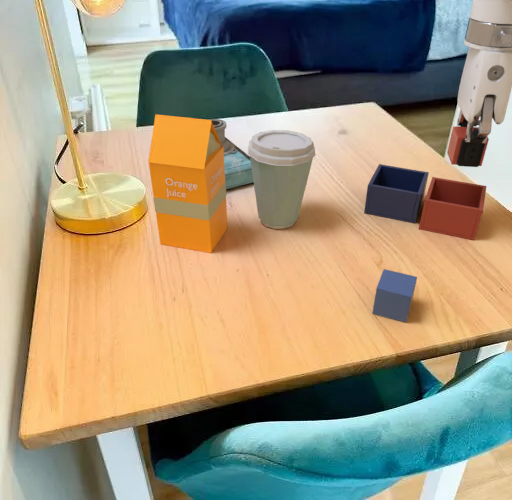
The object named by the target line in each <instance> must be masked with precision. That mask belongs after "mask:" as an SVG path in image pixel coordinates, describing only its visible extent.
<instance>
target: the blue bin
mask: <svg viewBox="0 0 512 500" xmlns="http://www.w3.org/2000/svg"><path fill="white" fill-rule="evenodd" d="M428 178H429V171H423V170H418V169H411V168H405V167H399V166H393V165H387V164H382V163H380V164H378V165H377V167H376V168H375V171H374V173H373V174H372V176H371V178H370V180H369V182H368V184H367V189H366V195H365V205H364V212H363V214H366V215H372V216H377V217H381V218H385V219H386V218H387V219H391V220H395V221H401V222H406V223H411V224H416V223H417V219H418V216H419V214H420V211H421V209H422V208H421V207H422V205H423V203H424V199H425V193H426V188H427V184H428Z"/></svg>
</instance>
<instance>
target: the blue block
mask: <svg viewBox="0 0 512 500" xmlns="http://www.w3.org/2000/svg"><path fill="white" fill-rule="evenodd" d="M417 280H418V277H417V276H415V275H411V274H406V273H403V272H399V271H395V270H389V269H386V268H384V269H383V270H382V273H381V275H380V278H379V279H378V283H377V285H376V289H375V295H374V299H373V300H374V301H373V306H372V307H373V308H372V315H376V316H379V317H384V318H387V319H391V320H394V321H397V322H401V323H407V321H408V318H409V314H410V310H411V306H412V303H413V298H414V294H415V289H416V285H417Z"/></svg>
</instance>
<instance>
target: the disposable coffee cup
mask: <svg viewBox="0 0 512 500" xmlns="http://www.w3.org/2000/svg"><path fill="white" fill-rule="evenodd" d="M247 155H248V156H250V160H251V167H252V174H253V181H254V182H253V188H254V194H255V201H256V209H257V214H258V217H257V218H258V219H259V221H260V223H261V224H262V225H263V226H265V227H267V228H270V229H273V230H285V229H287V228H291V227H293V225H295V224H296V222H297V220H298V218H299V216H300V212H301V207H302V204H303V200H304V195H305V191H306V188H307V184H308V180H309V175H310V171H311V168H312V163H313V160H314V157H315V156H316V147H315V144H314V141H313V140H312V138H311V137H309V136H307V135H306V134H303V133H302V132H298V131H294V130H287V129H284V130H283V129H270V130H266V131H260V132H258V133H256V134H254V135H252V137H251V139H250V140H249V141H248V146H247Z"/></svg>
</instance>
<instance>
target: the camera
mask: <svg viewBox="0 0 512 500" xmlns="http://www.w3.org/2000/svg"><path fill="white" fill-rule="evenodd" d="M209 120H212V124H213V126H214V128H215V131H216V133H217V135H218V137H219V140H220V142H221V144H222V147H223V149H224V169H225V182H226V190H229V189H233V188H237V187H241V186H244V185H248V184H252V183H253V184H254V181H253V174H252V167H251V160H250V155H248V153H246V152H245V151H244V150H242V149H241V148H240V147H238V146H237V145H236V144H235V143H233V141H232V140H230V139H228V138H227V137H226V135H225V134H226V133H225V130H226V129H227V121H225V120H223V119H219V118H211V119H209Z"/></svg>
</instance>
